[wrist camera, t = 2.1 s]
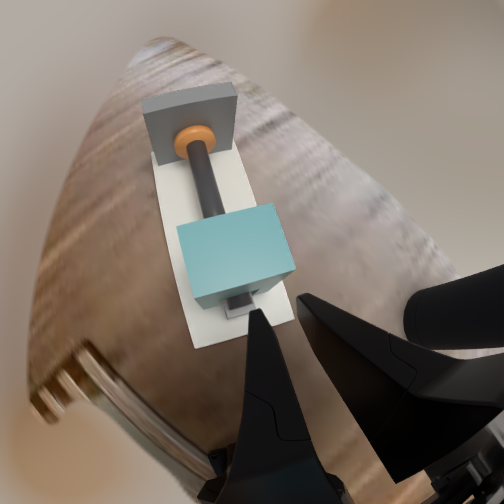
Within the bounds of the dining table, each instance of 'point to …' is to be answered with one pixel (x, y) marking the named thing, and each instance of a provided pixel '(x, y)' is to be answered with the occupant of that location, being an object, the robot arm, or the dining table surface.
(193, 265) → the teal block on rod
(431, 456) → the robot arm
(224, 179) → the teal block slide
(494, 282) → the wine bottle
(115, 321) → the dining table surface
